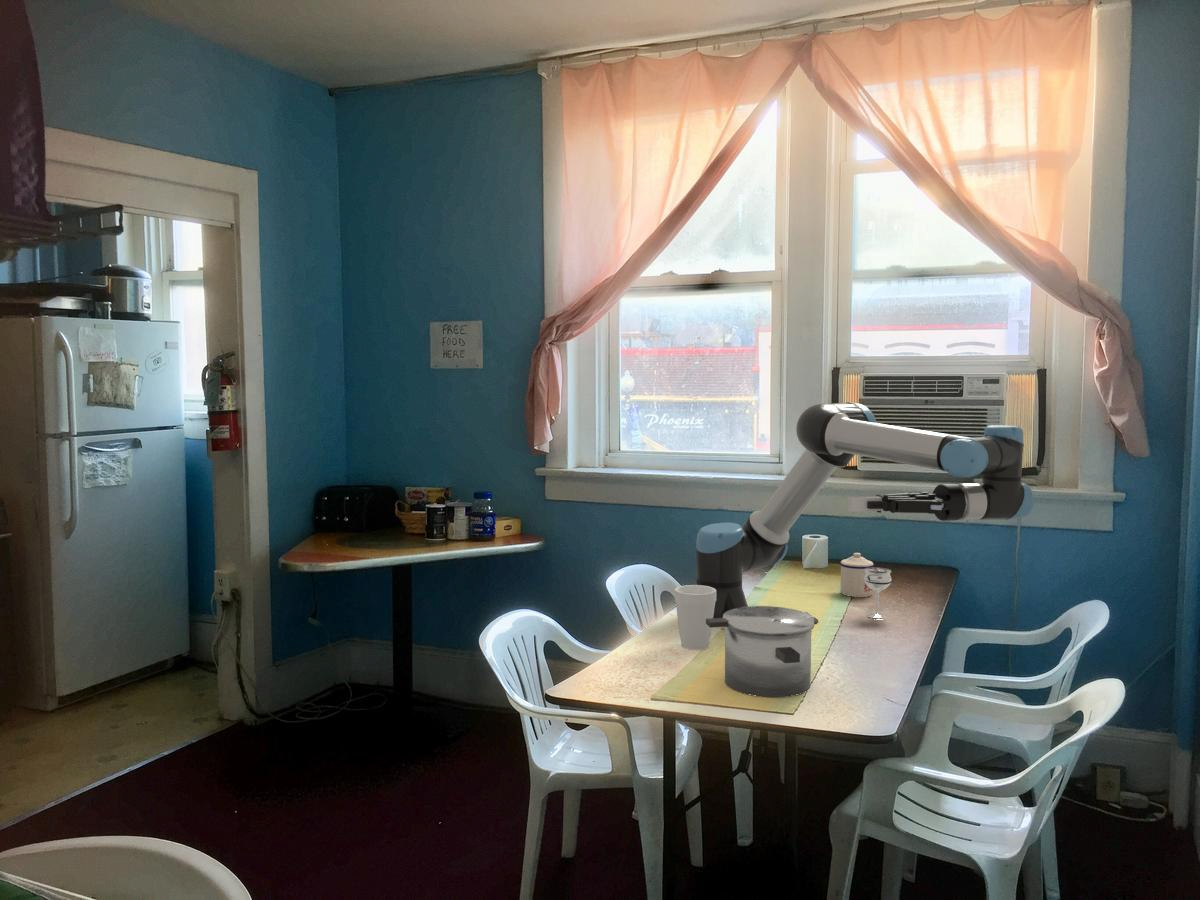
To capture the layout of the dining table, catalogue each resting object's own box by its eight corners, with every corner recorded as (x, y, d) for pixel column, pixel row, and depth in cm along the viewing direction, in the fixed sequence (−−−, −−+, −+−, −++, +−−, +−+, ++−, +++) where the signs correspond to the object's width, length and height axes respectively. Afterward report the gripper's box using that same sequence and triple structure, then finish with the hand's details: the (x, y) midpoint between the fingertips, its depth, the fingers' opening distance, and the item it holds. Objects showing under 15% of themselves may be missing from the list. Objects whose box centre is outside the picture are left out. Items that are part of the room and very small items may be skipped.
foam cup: (682, 653, 206) (683, 595, 205) (668, 641, 215) (668, 586, 214) (722, 649, 209) (722, 593, 208) (706, 638, 218) (707, 584, 217)
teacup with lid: (871, 599, 255) (872, 557, 254) (837, 596, 258) (838, 555, 257) (875, 589, 266) (876, 549, 265) (843, 587, 269) (843, 547, 268)
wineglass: (869, 611, 241) (870, 566, 240) (894, 616, 237) (895, 570, 236) (858, 617, 236) (859, 570, 235) (884, 621, 232) (885, 574, 231)
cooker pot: (783, 660, 201) (784, 606, 200) (834, 702, 175) (835, 640, 174) (707, 664, 198) (708, 609, 197) (748, 708, 172) (748, 645, 171)
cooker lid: (796, 609, 196) (796, 604, 196) (832, 633, 178) (832, 627, 178) (695, 614, 192) (695, 609, 192) (721, 639, 175) (721, 633, 175)
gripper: (974, 525, 184) (863, 528, 180) (939, 514, 197) (835, 517, 193) (976, 488, 183) (865, 490, 179) (941, 479, 196) (836, 481, 192)
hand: (849, 504), depth 186 cm, fingers closed
